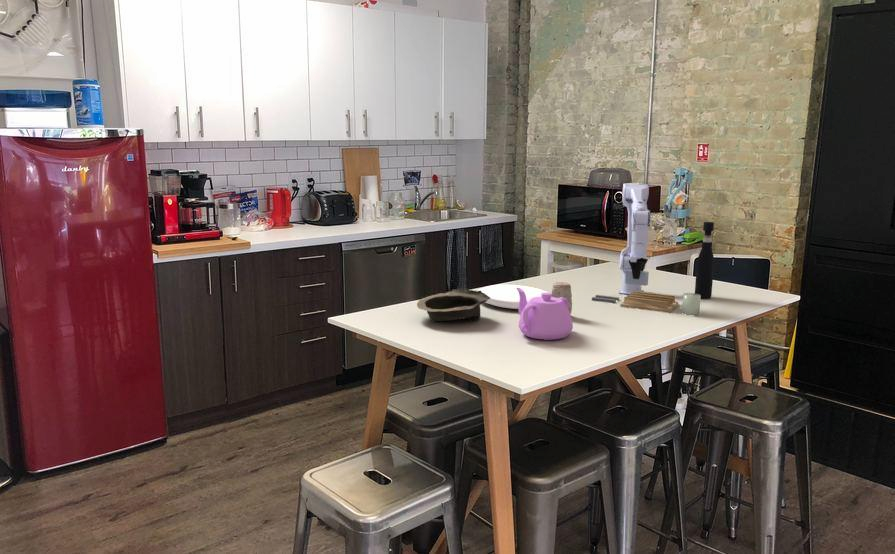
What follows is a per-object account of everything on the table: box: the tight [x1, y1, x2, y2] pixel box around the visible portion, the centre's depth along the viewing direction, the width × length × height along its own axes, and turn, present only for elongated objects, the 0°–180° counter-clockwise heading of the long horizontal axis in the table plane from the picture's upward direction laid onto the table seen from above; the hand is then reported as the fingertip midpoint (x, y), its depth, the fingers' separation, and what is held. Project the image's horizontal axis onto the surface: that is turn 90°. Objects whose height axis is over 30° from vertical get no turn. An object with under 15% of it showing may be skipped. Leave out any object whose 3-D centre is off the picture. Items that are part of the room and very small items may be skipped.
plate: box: [477, 284, 549, 310], centre depth 273 cm, size 28×6×27 cm
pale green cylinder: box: [681, 292, 702, 316], centre depth 260 cm, size 6×6×7 cm
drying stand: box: [591, 294, 620, 304], centre depth 281 cm, size 6×9×1 cm
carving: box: [551, 281, 573, 315], centre depth 254 cm, size 6×8×12 cm
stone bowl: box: [416, 288, 490, 322], centre depth 249 cm, size 25×25×9 cm
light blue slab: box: [625, 270, 650, 287], centre depth 273 cm, size 2×8×5 cm, turn 60°
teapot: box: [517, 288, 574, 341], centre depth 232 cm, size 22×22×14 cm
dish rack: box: [619, 291, 679, 313], centre depth 272 cm, size 15×18×4 cm
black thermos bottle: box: [694, 221, 715, 300], centre depth 284 cm, size 6×6×30 cm
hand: (637, 278), depth 273 cm, fingers closed on light blue slab, 2 cm apart
